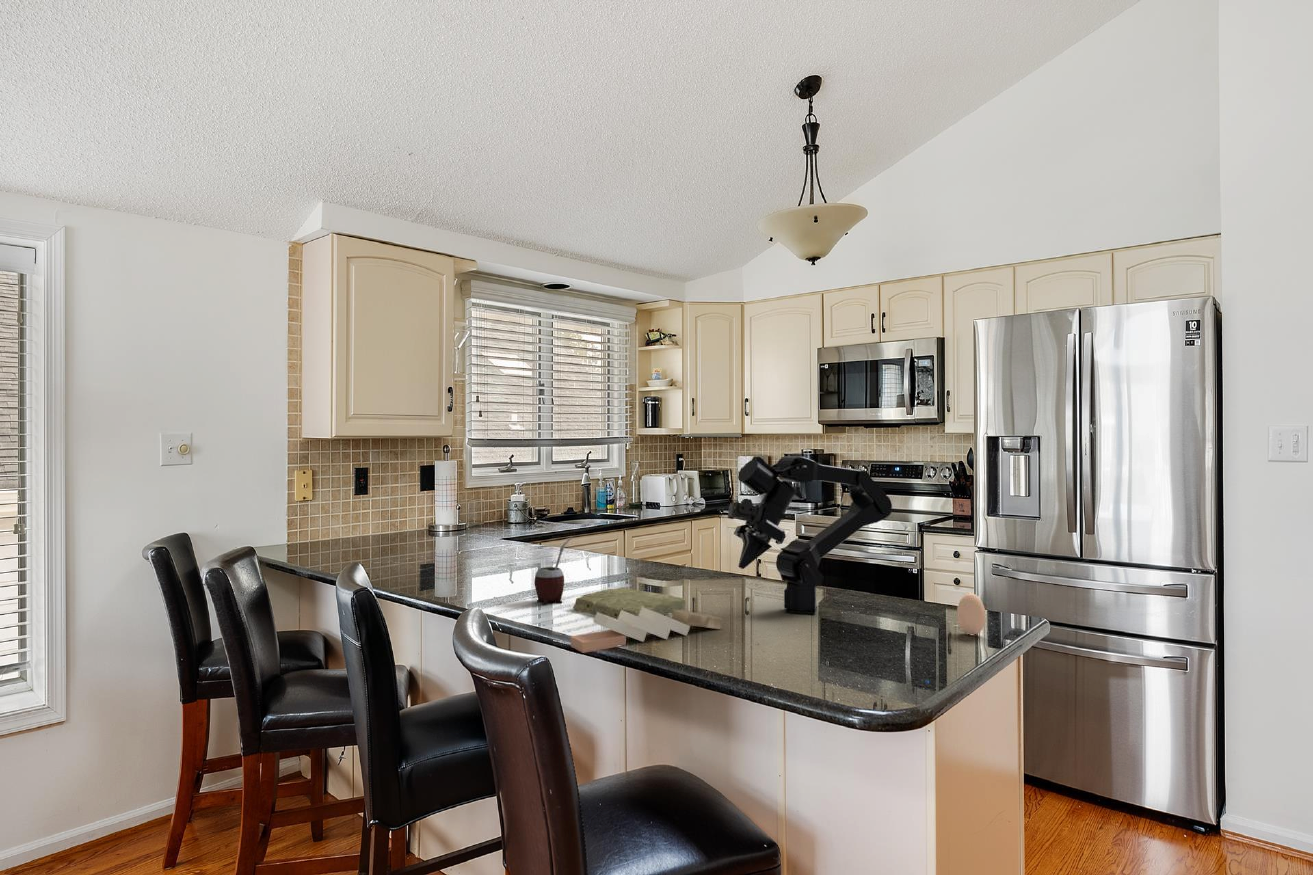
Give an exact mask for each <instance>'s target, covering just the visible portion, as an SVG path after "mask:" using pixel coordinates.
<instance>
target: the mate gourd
mask: <svg viewBox="0 0 1313 875" xmlns="http://www.w3.org/2000/svg"><path fill="white" fill-rule="evenodd" d="M571 540H572V537H569V538H568V539H567V540H566V541H565V542H564V543H563V544H562V545H561V547H560V549H559V554H558V557H557V560H556V563H555V566H554V567H553V566H547V567H540V568H538V569H537V571H536V573H535V575H534V576H535V577H534V588H535V592H536V595H537V599H536V602H537V603H542V606H548V605H550V604H562V603H563V600H562V597H563V594H564V587H565V576H564V572H563V570H562V569H561V568H560V567H559V565H560V560H561V556H562V553H564V550H565V546H566V545H567V544H568V543H569V542H570V541H571Z"/></svg>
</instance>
